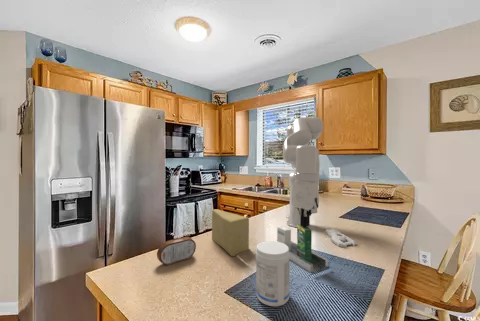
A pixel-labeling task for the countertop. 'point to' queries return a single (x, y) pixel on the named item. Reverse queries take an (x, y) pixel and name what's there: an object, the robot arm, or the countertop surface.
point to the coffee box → (304, 242)
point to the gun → (340, 238)
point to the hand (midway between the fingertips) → (304, 225)
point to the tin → (176, 250)
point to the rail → (315, 264)
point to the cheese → (230, 231)
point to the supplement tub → (272, 273)
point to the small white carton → (284, 236)
